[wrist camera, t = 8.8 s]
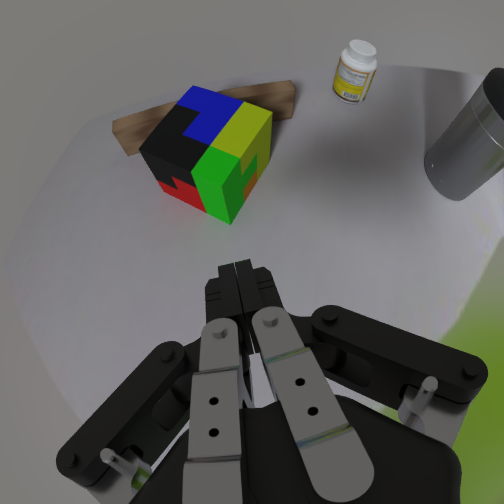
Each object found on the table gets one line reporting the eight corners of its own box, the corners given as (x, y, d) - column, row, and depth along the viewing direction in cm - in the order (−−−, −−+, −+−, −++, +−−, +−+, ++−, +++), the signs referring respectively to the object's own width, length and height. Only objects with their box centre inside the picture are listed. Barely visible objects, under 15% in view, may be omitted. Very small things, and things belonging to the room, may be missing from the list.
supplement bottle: (351, 80, 42) (366, 35, 33) (370, 102, 41) (390, 57, 31) (324, 85, 42) (336, 37, 32) (344, 108, 41) (360, 60, 31)
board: (287, 108, 40) (290, 80, 35) (291, 118, 40) (295, 89, 34) (127, 145, 39) (112, 121, 33) (127, 156, 39) (112, 131, 33)
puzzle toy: (205, 135, 39) (192, 85, 30) (269, 162, 38) (272, 112, 28) (164, 191, 37) (138, 148, 28) (230, 225, 36) (221, 186, 26)
